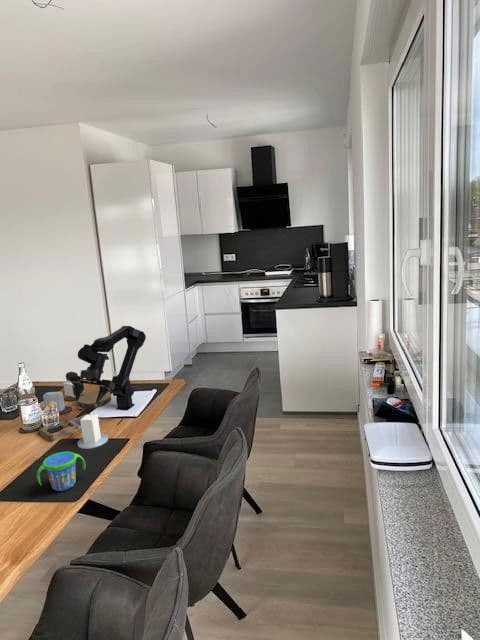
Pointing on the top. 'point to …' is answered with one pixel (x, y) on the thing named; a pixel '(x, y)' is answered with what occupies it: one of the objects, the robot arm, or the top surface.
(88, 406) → the brown round slab
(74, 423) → the trap pit
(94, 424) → the white block
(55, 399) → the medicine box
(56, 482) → the snack cup
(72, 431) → the walnut channel
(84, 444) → the pad
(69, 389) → the medicine bottle
